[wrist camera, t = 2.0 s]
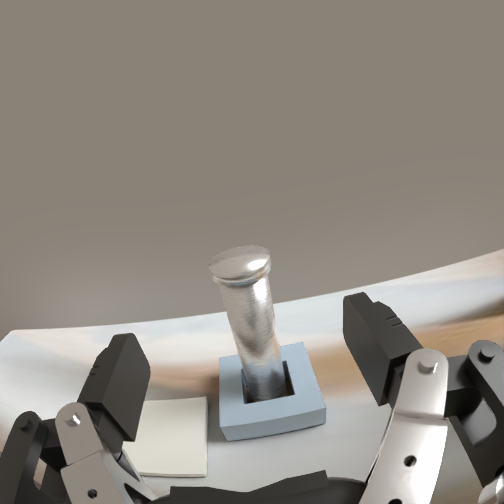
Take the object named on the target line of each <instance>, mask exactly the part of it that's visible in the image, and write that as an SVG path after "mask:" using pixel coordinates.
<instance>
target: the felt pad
mask: <svg viewBox="0 0 504 504" xmlns="http://www.w3.org/2000/svg"><path fill="white" fill-rule="evenodd" d="M207 421H208V399H207V397H196V398H185V399H172V400H153V401H144V403H143V408H142V412H141V416H140V421H139V425H138V430H137V434H136V439H135V442H126V441H123V445H122V448H123V449H124V450H125V451H126V453H127V455H128V457H129V458H130V460H131V462H132V463H133V465H134V467H135V468H136V470H137V471H138V473H139V475H148V476H166V477H207Z"/></svg>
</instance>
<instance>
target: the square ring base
mask: <svg viewBox="0 0 504 504" xmlns="http://www.w3.org/2000/svg"><path fill="white" fill-rule="evenodd" d="M280 351H281V357H282V364H283V370H284V376H285V378H289V380H290V384H291V388H292V392H293V395H291V396H287V397H282V398H277V399H272V400H266V401H261V402H255V403H249V404H248V401H247V390H246V386H247V385H248V384H247V381H246V377H245V374H244V371H243V367H242V364H241V361H240V357H239V355H233V356H227V357H221V358H219V414H220V429H221V430H222V432H223V434H224V436H225V438H226V439H227V441H233V440H241V439H249V438H256V437H262V436H268V435H274V434H279V433H284V432H289V431H294V430H299V429H303V428H307V427H311V426H316V425H319V424H323V423H326V406H325V403H324V400H323V397H322V394H321V391H320V389H319V386H318V383H317V380H316V377H315V374H314V371H313V369H312V366H311V363H310V360H309V357H308V354H307V352H306V349H305V346H304V343H303V342H299V343H295V344H291V345H286V346H281V347H280Z"/></svg>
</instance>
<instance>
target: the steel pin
mask: <svg viewBox="0 0 504 504" xmlns="http://www.w3.org/2000/svg"><path fill="white" fill-rule="evenodd" d="M209 269H210V272H211V276H212V279H213V281H214V282H216V283H218V284H219V286H220V290H221V293H222V297H223V301H224V305H225V308H226V312H227V315H228V319H229V323H230V326H231V330H232V333H233V337H234V340H235V344H236V347H237V351H238V354H239V357H240V361H241V364H242V367H243V371H244V374H245V377H246V381H247V384H248V387H249V390H250V394H251V397H252V400H253V403H255V402H261V401H266V400H272V399H277V398H282V397H287V396H288V395H287V389H286V382H285V376H284V370H283V364H282V357H281V351H280V345H279V339H278V333H277V327H276V321H275V315H274V309H273V303H272V297H271V291H270V286H269V280H268V272H269V271H270V270H271V260H270V254H269V251H268V250H267V249H266V248H264V247H261V246H252V245H251V246H250V245H248V246H240V247H234V248H231V249H228V250H225V251H223V252H220V253H219V254H217V255H215V256H214V257H213V258H212V259H211V260H210V261H209Z"/></svg>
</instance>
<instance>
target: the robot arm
mask: <svg viewBox="0 0 504 504" xmlns="http://www.w3.org/2000/svg"><path fill="white" fill-rule="evenodd" d="M343 335H344V339H345V342H346V344H347V346H348V348H349V350H350V352H351V354H352V356H353V358H354V360H355V361H356V363H357V365H358V367H359V369H360V371H361V373H362V375H363V377H364V379H365V380H366V382H367V384H368V386H369V388H370V390H371V392H372V394H373V396H374V398H375V400H376V402H377V404H378V406H382V405H384V404H387V403H389V404H390V406H391V408H392V410H391V413H390V416H389V420H388V423H387V426H386V429H385V432H384V435H383V437H382V440H381V443H380V446H379V448H378V451H377V454H376V456H375V459H374V461H373V463H372V466H371V468H370V470H369V472H368V475H367V477H366V479H365V481H364V482H362V481H358V480H354V479H349V478H338V477H329V478H327V475H326V471H325V470H323V471H319V472H315V473H311V474H306V475H301V476H297V477H292V478H286V479H284V480H281V481H279V482H276V483H273V484H271V485H268V486H265V487H262V488H260V489H257V490H254V491H251V492H236V491H228V490H222V489H216V488H211V487H175V486H171V488H170V495H166V496H163V497H160V498H158V497H157V496H156V495H155V494H154V493H153V492H152V491H151V490H150V489H149V488H148V486H147V485H146V484H145V482H144V481H143V479H142V478H141V476H140V475H139V473H138V471H137V470H136V468H135V467H134V465H133V463H132V462H131V460H130V458H129V457H128V455H127V453H126V451H125V450H124V449H123V448H122V445H123V441H126V442H135V439H136V434H137V430H138V425H139V421H140V416H141V412H142V408H143V403H144V399H145V395H146V391H147V387H148V383H149V379H150V366H149V363H148V360H147V358H146V356H145V354H144V352H143V350H142V348H141V346H140V344H139V342H138V340H137V338H136V336H135V335H134V334H133V333H127V334H117V335H114V336H113V338H112V340H111V342H110V344H109V346H108V348H105V349H104V350H103V351H102V352H101V353H100V354H99V355H98V356H97V358H96V360H95V362H94V365H93V368H92V369H91V371H90V373H89V374H90V375H89V376H88V377H87V380H86V382H85V384H84V386H83V388H82V391H81V393H80V395H79V398H78V400H77V402H74V403H70V404H67V405H66V406H64V407H63V408H62V409H61V410H60V411H59V412H58V414H57V416H56V418H54V419H48V420H43V421H42V420H41V418H40V417H39V416H38V415H37V414H36V413H35V412H32V411H27V412H24V413H22V414H21V415H20V416H19V417H18V418H17V419H16V420H15V422H14V425H13V427H12V429H11V432H10V434H9V436H8V439H7V441H6V444H5V447H4V449H3V452H2V455H1V457H0V504H429V502H430V499H431V496H432V493H433V489H434V486H435V482H436V479H437V475H438V471H439V467H440V463H441V459H442V454H443V449H444V444H445V439H446V433H447V426H448V422H447V419H444V418H446V417H448V418H449V420H450V422H451V423H452V425H453V427H454V429H455V431H456V433H457V435H458V437H459V439H460V441H461V442H462V444H463V446H464V448H465V450H466V452H467V454H468V457H469V459H470V461H471V463H472V465H473V467H474V469H475V471H476V474H477V476H478V478H479V480H480V482H481V485H482V487H483V490H482V492H481V494H480V496H479V500H478V504H504V351H503V350H502V349H501V348H500V347H499V346H498V345H497V344H495V343H494V342H491V341H488V340H480V341H477V342H475V343H473V344H472V345H471V347H470V349H469V351H468V354H467V355H463V356H456V357H450V358H446V357H445V356H444V355H443V354H442V353H441V352H439V351H437V350H434V349H430V348H423V347H422V345H421V344H420V343H419V342H418V340H417V339H416V338H415V337H414V336H413V334H412V333H411V332H410V331H409V329H408V328H407V327H406V326H405V325H404V324H403V323H402V321H401V320H400V319H399V318H398V317H397V315H396V314H395V313H394V312H393V311H392V309H391V308H390V307H388V306H386V305H385V304H383V303H381V302H379V301H378V302H374V303H373V302H372V301H371V300H370V298H369V297H368V296H367V295H366V293H364V292H361V293H357V294H353V295H348V296H345V297H344V299H343ZM483 399H485V401H486V402H487V404H488V405H489V407H490V408H491V410H492V411H493V413H494V415H495V417H496V419H495V417H494V415H493V414H492V412H491V411H490V409H489V407H488V406H487V404H486V403H485V401H484V400H483ZM39 458H40V459H41V460H42V461H44V462H45V463H46V464H47V466H46V470H45V474H44V477H43V481H42V485H41V490H39V489H37V488H36V486H35V484H34V480H33V478H34V474H35V470H36V467H37V463H38V460H39Z"/></svg>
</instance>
